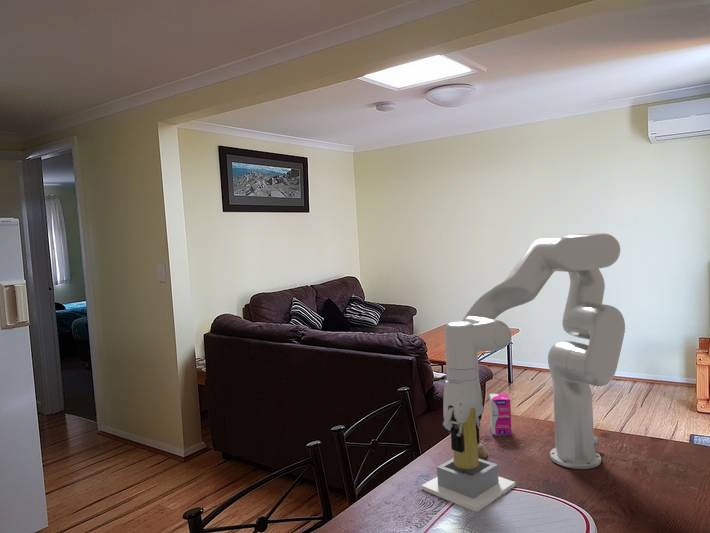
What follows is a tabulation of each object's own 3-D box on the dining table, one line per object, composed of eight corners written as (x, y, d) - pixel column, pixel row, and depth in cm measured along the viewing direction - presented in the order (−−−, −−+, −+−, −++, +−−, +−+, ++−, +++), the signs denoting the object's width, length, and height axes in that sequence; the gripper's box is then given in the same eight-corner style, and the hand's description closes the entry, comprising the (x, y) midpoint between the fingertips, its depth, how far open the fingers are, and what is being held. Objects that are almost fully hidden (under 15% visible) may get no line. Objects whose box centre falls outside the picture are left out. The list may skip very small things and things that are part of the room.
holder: (461, 467, 138) (460, 446, 138) (515, 486, 126) (514, 463, 126) (421, 489, 127) (420, 467, 127) (476, 512, 116) (475, 488, 115)
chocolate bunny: (458, 453, 147) (457, 418, 146) (487, 453, 146) (485, 418, 145) (459, 461, 141) (457, 426, 141) (489, 462, 140) (487, 425, 140)
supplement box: (492, 436, 157) (490, 399, 157) (490, 429, 163) (488, 393, 163) (512, 436, 156) (510, 399, 156) (509, 429, 162) (507, 393, 162)
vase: (479, 470, 123) (477, 410, 122) (453, 469, 124) (450, 410, 123) (478, 459, 129) (476, 402, 128) (453, 458, 130) (451, 402, 129)
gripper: (470, 363, 134) (473, 432, 135) (427, 378, 122) (430, 453, 123) (496, 368, 128) (499, 440, 129) (453, 384, 117) (456, 462, 118)
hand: (465, 446), depth 126 cm, fingers closed on vase, 5 cm apart
